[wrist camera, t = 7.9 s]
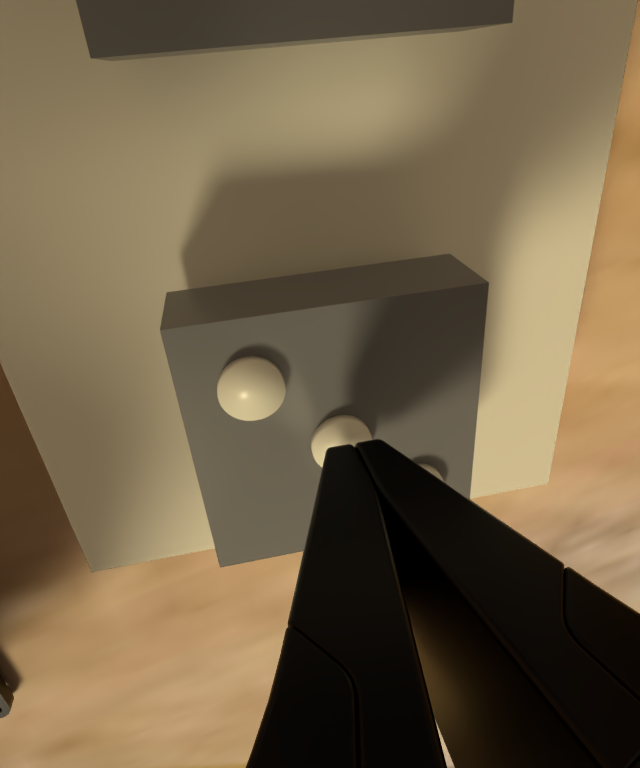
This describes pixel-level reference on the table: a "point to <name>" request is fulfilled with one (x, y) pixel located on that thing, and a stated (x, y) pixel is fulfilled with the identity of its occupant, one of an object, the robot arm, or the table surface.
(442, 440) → the button three pips
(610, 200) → the table surface
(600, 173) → the panel
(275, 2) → the button one pip
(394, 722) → the robot arm
